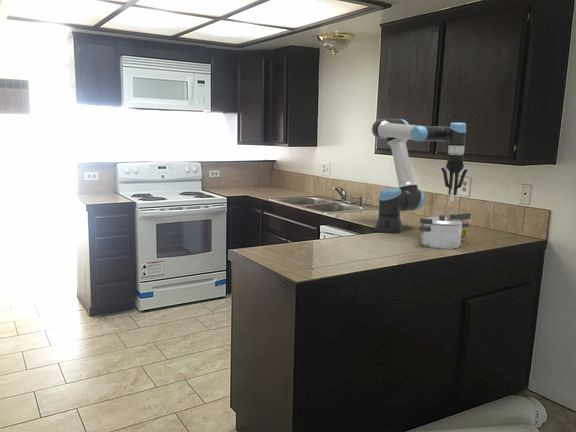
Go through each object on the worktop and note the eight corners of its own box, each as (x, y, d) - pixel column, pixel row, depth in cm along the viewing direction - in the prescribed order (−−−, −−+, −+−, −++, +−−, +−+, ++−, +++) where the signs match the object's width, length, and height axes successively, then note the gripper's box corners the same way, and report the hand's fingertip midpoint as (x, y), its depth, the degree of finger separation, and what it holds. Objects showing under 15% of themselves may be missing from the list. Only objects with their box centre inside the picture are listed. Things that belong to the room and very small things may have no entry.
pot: (408, 243, 246) (410, 221, 244) (452, 238, 259) (454, 217, 257) (434, 250, 230) (436, 227, 229) (480, 245, 243) (481, 222, 242)
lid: (438, 227, 228) (438, 219, 227) (409, 221, 243) (409, 214, 243) (483, 221, 244) (484, 214, 243) (453, 216, 259) (454, 209, 259)
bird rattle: (449, 240, 264) (465, 235, 258) (443, 220, 265) (458, 215, 259) (454, 238, 269) (470, 234, 263) (447, 219, 270) (463, 214, 264)
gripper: (440, 153, 247) (436, 200, 251) (467, 155, 240) (463, 203, 245) (444, 153, 253) (441, 199, 258) (471, 154, 247) (467, 201, 251)
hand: (452, 201), depth 251 cm, fingers closed
